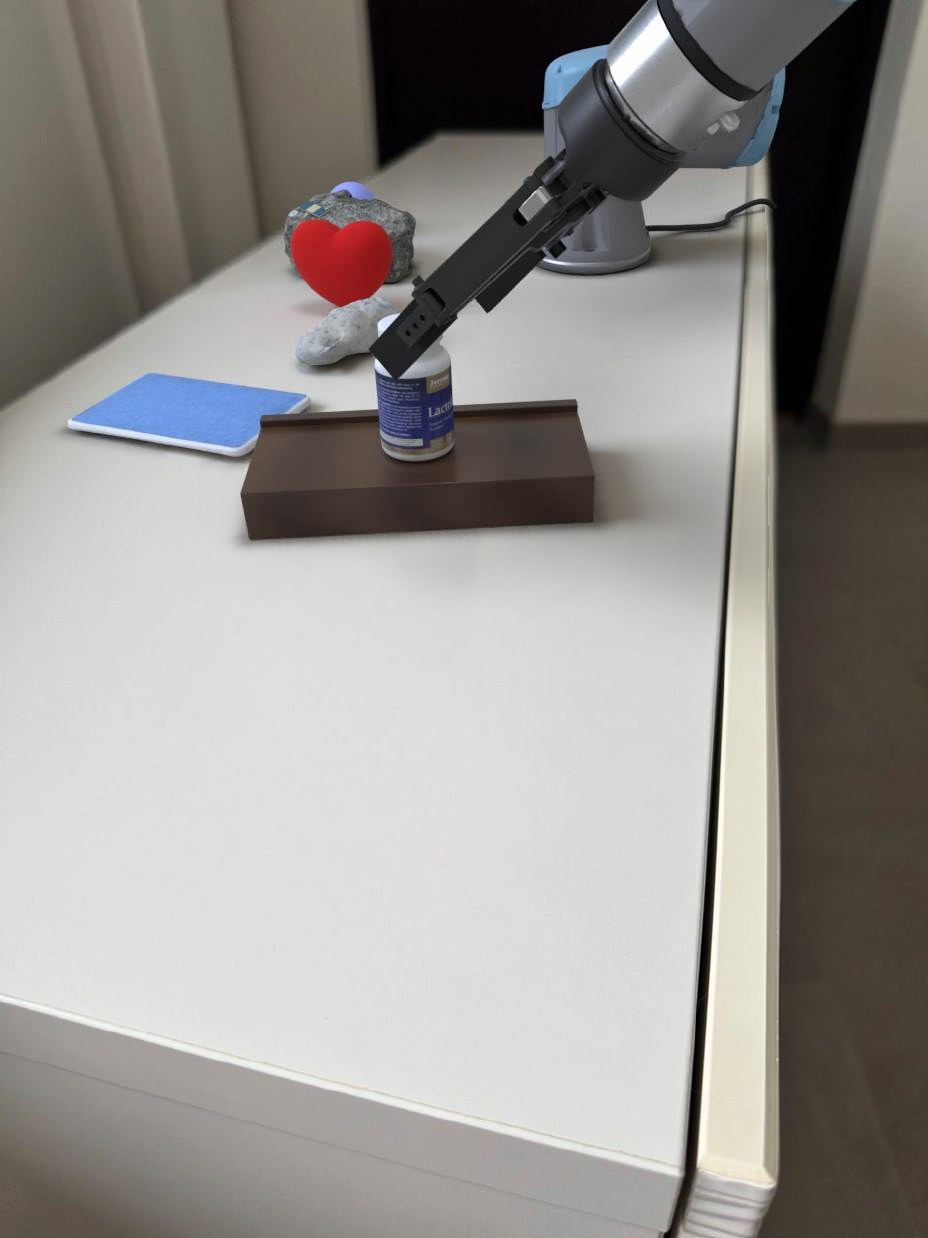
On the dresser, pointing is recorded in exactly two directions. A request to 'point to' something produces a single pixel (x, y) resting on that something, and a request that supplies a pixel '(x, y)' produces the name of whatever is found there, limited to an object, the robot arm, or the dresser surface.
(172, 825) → the dresser surface
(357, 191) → the sphere
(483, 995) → the dresser surface
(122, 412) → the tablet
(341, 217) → the rock
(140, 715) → the dresser surface
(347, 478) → the ledge
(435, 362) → the pill bottle
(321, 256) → the heart
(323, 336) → the decorative stone
